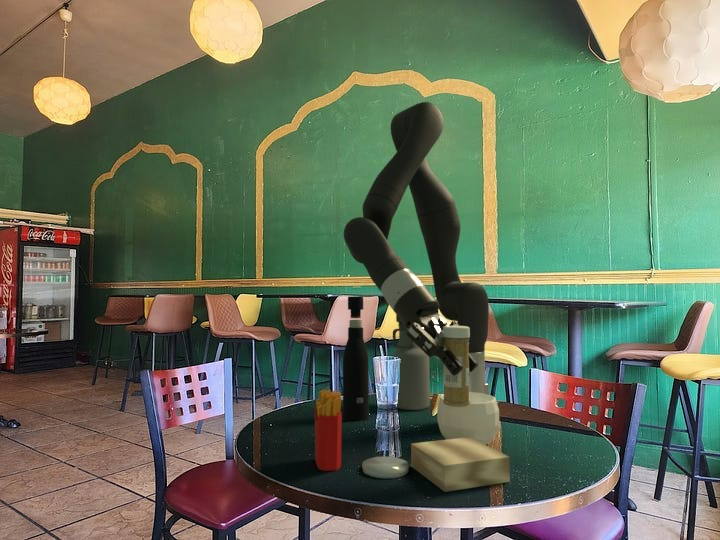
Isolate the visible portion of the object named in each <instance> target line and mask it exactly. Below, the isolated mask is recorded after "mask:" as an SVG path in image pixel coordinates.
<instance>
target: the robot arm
mask: <svg viewBox="0 0 720 540" xmlns="http://www.w3.org/2000/svg"><path fill="white" fill-rule="evenodd" d="M390 122H391V123H390V135H391V139H392V141H393V142H392V143H393V145H394V147H395V151H396V152H395V154H394V155H393V156H392V158H390V160H389V161H388V162H387V163H386V164H385V166H384V167H383V168H382V170H381V171H380V172H379V173H378V174H377V175H376V177H375V179H374V180H373V182H372V185H371V187H370V188H369V190H368V193H367V194H366V196H365V199H364V201H363V203H362V216H360V217H359V216H358V217H355V218H354V217H353V218H352V219H350V220H349V221H348V222H347V223H346V224H345V227H344V228H343V240H344V243H345V244H346V247H347V249H348V251H349V254H350V255H351V256H352V258H353V260H354V261H356V262H357V263H359V264H362V265H363V266H364V267H365V269H366V272H367V274H368V277H369V278H370V279H371V280H372V282H373V284H375V286H376V287H377V288H378V290H379V291H380V292H381V294H382V296H383V298H384V300H385V301H386V302H387V304H388V305H389V307H390V308H391V309H392V310H393V312H394V313H395V314H396V315H397V316H398V317H399V319H400V320H401V321H402V323H403V324H404V325H405V326H406V328H408V329H409V330H408V331H407V332H406V334H407V336H408V337H409V338H410V339H411V340H412V341H413V342H414V343H415V344H416V345H417V346H418V347H419V348H420V349H421V350H423V351H424V352H425V353H426V354H427V355H428V356H429V358H432V357H435V358H436V359H437V360H440V361H441V362H442V364H443V366H444V365H445V366H446V367H447V369H448V370H449V371H450V372H451V374H452V375H458V374H459V373H460V372H461V371H462V369H463V366H462V365H461V363H460V362H459V361H458V360H457V358H456V357H455V356H454V355H453V353H452V352H451V351H448V350H449V348H448V347H447V345H446V343H445V341H444V340H445V337H444V335H443V327H444V326H466V327H469V328H470V337H469V392H474V393H482V394H487V395H490V385H489V384H488V382H487V383H486V362H485V361H486V358H485V356H486V355H485V353H486V352H485V349H486V348H485V347H486V342H487V340H488V334H489V311H490V304H489V303H490V302H489V297H488V294H487V291H486V289H485V288H484V286H483V285H481V284H480V283H477V282H462V281H461V279H460V275H459V271H458V267H457V262H456V260H457V259H456V258H457V250H458V245H459V242H460V241H459V240H460V234H461V221H460V217H459V213H458V210H457V206H456V202H455V199H454V197H453V195H452V194H451V192H450V191H449V189H448V188H447V187H446V186H445V185H444V184H443V182H441V180H440V179H439V178H438V177H437V176H436V175H435V173H434V172H433V171H432V169H431V167H430V166H429V162H428V159H427V156H428V154H429V153H430V151H431V150H432V148H433V147H434V146H435V144H436V143H437V141H438V140H439V139H440V136H441V134H442V132H443V129H444V117H443V115H442V112H441V110H440V109H439V107H438V106H436V105H435V104H434V103H432V102H429V101H422V102H418V103H415V104H414V105H411V106H410V107H407V108H406V109H404V110H402V111H400V112H398V113H397V114H395V115H394V116H393V117H392V119H391V121H390ZM408 187H409V191H410V194H411V197H412V200H413V205H414V209H415V213H416V216H417V217H416V218H417V221H418V224H419V227H420V232H421V234H422V238H423V240H424V244H425V248H426V250H425V251H426V253H427V258H428V261H429V266H430V269H431V275H432V281H433V288H434V292H435V293H434V294H435V295H433V293H432V292H431V291H430V290H429V289H428V288H427V286H426V285H425V284H424V283H423V282H422V280H421V279H420V278H419V277H418V276H417V275H416V274H415V273H414V272H413V271H412V270H411V269H410V268H409V266H407V264H406V263H405V262H404V261H403V259H402V258H401V257H399V255H398V254H397V253H396V252H395V251H394V249H393V248H392V246H391V244H390V243H389V241H388V239H389V235H390V231H391V227H392V221H393V218H394V215H396V212H397V210H398V209H399V208H398V207H399V206H400V203H401V201H402V200H403V197H404V195H405V193H406V191H407V189H408ZM439 312H440V313H439ZM441 315H442V316H441ZM447 320H449V321H451V322H448V321H447ZM419 337H420V338H419Z"/></svg>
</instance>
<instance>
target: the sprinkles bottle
mask: <svg viewBox="0 0 720 540" xmlns="http://www.w3.org/2000/svg"><path fill="white" fill-rule="evenodd" d="M443 335H444V337H445V340H444V341H445V343H446V345H447V347H448V348H449V350H448V351H451V352H452V353H453V355H454V356H455V357H456V358H457V360H458V361H459V362H460V363H461V365H462V366H463V369H462V371H461V372H460V373H459V374H458V375H452V374H451V372H450V371H449V370H448V369H447V367H446V366H445V365H444V364H443V394H444V401H443V403H444V404H445V405H447V406H452V407H466V406H468V405H469V404H470V401H469V337H470V328H469V327H466V326H444V327H443Z"/></svg>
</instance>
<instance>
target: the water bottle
mask: <svg viewBox="0 0 720 540" xmlns="http://www.w3.org/2000/svg"><path fill="white" fill-rule="evenodd" d="M395 319H396V320H395V321H396V323H398V325H397V326H398V328H394V329H393V330H392V345H393V347H394V348H396V349H395V350H394V352H393V357H398V358H400V359H401V363H400V383H399V393H398V404H397V407H396V408H397V409H399V410H405V411H422V410H425V409H427V408H429V407H430V404H431V403H430V402H431V401H430V399H431V397H430V395H431V394H430V393H431V392H430V390H431V389H430V357H429V356H428V355H427V354H426V353H425V352H424V351H423V350H421V349H420V348H419V347H418V346H417V345H416V344H415V343H414V342H413V341H412V340H411V339H410V338H409V337H408V336H407V334H406V332H407V331H408V330H409V329H408V328H406V326H405V325H404V324H403V323H402V321H401V320H400V319H399V317H398V316H397V315H396V316H395ZM397 332H398V338H399V339H398V342H399V343H398V344H397V341H396V340H397V338H396V337H397ZM419 338H420V337H419ZM393 357H392V358H393Z"/></svg>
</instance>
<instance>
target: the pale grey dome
mask: <svg viewBox="0 0 720 540" xmlns="http://www.w3.org/2000/svg"><path fill="white" fill-rule="evenodd" d="M361 469H363V470H362V472H363V474H365V475H366V474H367V475H366V476H368V475H369V477H373V478H376V479H396V478H401V477H403V476H405V475H407V474H409V473H408V472H409V463H408V461H406V460H404V459H402V458H399V457H394V456H374V457H371V458H367V459H365V460H363V461H362V468H361Z"/></svg>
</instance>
